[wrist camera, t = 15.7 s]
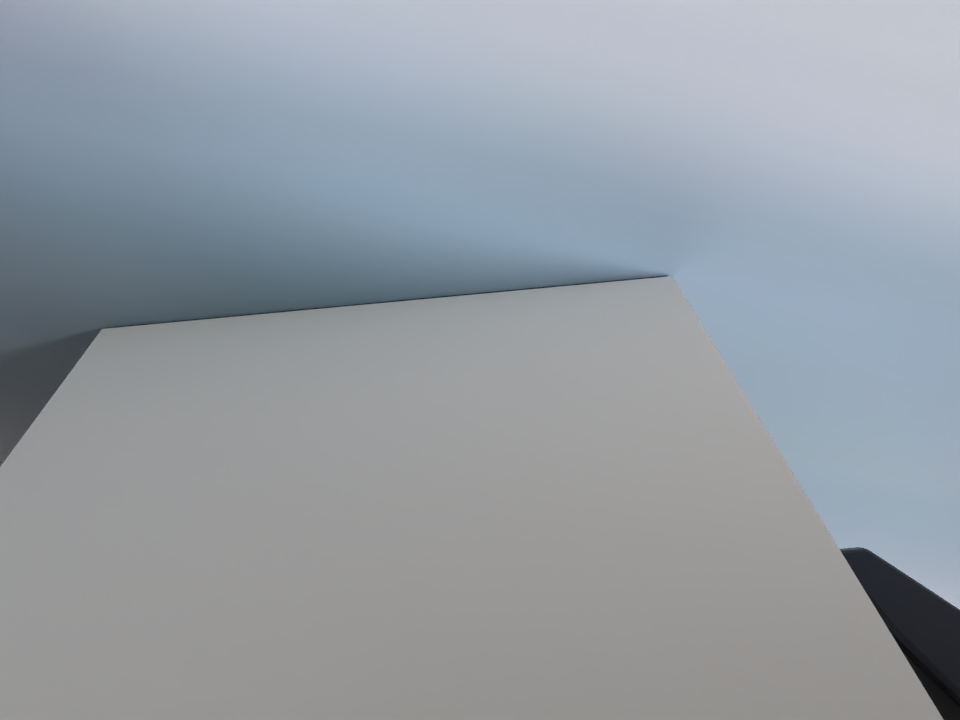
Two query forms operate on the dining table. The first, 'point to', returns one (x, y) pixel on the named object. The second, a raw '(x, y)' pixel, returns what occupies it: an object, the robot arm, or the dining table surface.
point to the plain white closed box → (426, 526)
